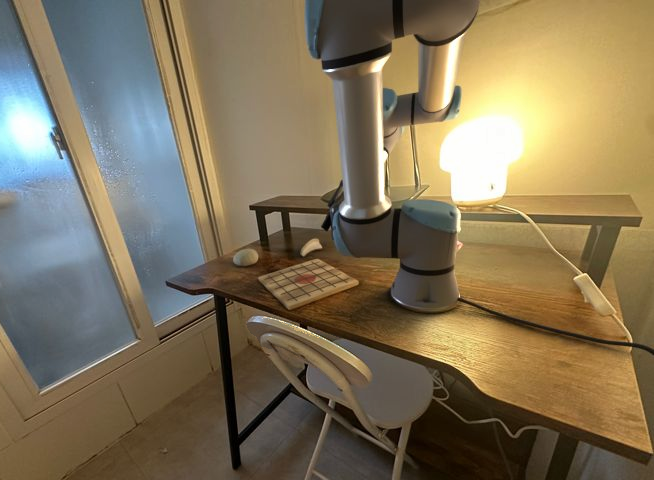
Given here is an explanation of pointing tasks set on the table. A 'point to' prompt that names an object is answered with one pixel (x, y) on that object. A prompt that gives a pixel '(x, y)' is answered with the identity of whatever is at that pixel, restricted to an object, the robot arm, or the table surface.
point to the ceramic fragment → (310, 247)
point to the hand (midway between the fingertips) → (330, 230)
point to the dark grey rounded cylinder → (332, 213)
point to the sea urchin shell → (245, 257)
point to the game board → (306, 283)
